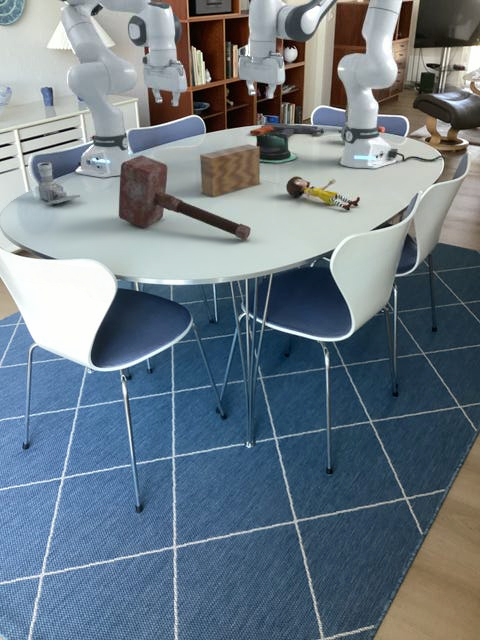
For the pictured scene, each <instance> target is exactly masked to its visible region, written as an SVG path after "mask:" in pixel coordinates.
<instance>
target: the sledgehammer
mask: <svg viewBox="0 0 480 640" xmlns="http://www.w3.org/2000/svg"><path fill="white" fill-rule="evenodd" d="M168 168H169V167H168V166H167V164H166V163H164V162H161V161H158V160H155V159H153V158H150V157H147V156H145V155H143V154H142V155H138V156H136V157H133V158H130V160H128V161H125V162H123V163H122V164H121V173H120V175H119V190H118V191H119V194H118V217H119V218H120V219H121V220H124V221H125V222H128V223H131V224H133V225H135V226H138V227H139V228H142V229H146V228H148V227H149V226H151V225H153V224H154V223H157V222H158V221H160V220H161V219H162V218H163V217H164V210H167V211H171V212H173V213H177V214H180V215H181V214H182V215H184V216H187V217H189V218H191V219H194V220H196V221H199V222H202V223H203V224H207V225H208V226H212V227H214V228H217V229H218V230H222V231H224V232H226V233H229V234H231V235H234V236H235V237H236V238H239V239H241V240H244V241H247V239H248V238H249V237H250V234H251V231H252V228H251V226H248V225H246V224H243V223H237V222H236V221H233V220H230V219H227V218H225V217H223V216H220V215H218V214H216V213H213V212H209V211H207V210H204V209H202V208H201V207H200V208H199V207H197V206H195V205H192V204H190V203H187V202H184V200H182V199H179V198H177V197H176V196H174V195H171V194H168V193H166V190H167V179H168Z"/></svg>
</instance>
